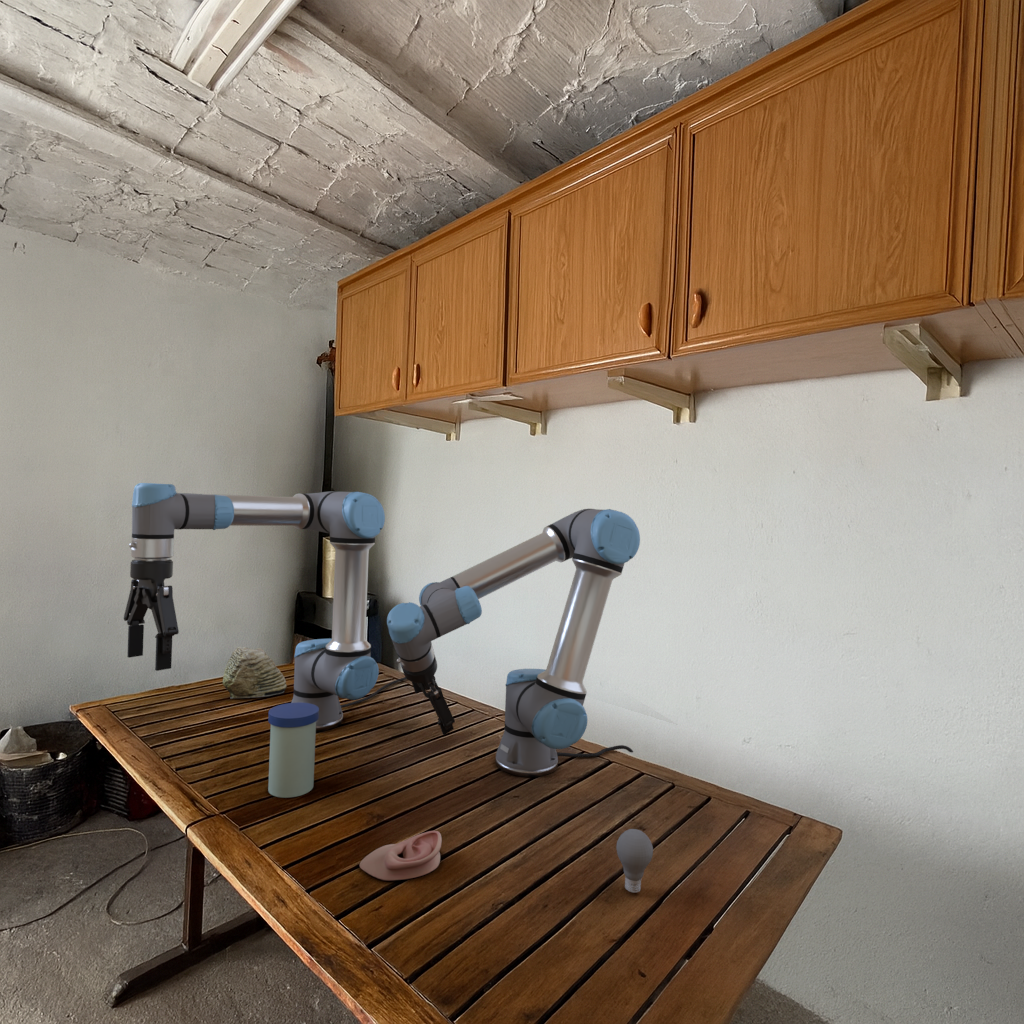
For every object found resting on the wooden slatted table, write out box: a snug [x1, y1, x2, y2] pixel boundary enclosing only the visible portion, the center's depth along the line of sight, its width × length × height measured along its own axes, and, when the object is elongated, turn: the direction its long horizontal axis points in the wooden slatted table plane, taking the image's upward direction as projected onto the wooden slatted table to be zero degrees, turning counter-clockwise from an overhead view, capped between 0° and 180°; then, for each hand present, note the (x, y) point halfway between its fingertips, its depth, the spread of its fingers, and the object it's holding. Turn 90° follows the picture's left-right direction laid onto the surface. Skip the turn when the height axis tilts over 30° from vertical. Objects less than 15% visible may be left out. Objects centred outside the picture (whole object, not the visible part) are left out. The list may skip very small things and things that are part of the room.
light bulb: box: [615, 828, 654, 894], centre depth 106 cm, size 6×6×10 cm
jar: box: [267, 722, 317, 799], centre depth 137 cm, size 9×9×16 cm
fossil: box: [222, 646, 288, 699], centre depth 198 cm, size 9×18×15 cm, turn 132°
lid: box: [267, 702, 319, 728], centre depth 137 cm, size 10×10×2 cm
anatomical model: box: [359, 830, 443, 882], centre depth 111 cm, size 13×4×12 cm
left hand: (148, 662), depth 129 cm, fingers open, 13 cm apart
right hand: (433, 710), depth 151 cm, fingers open, 13 cm apart
